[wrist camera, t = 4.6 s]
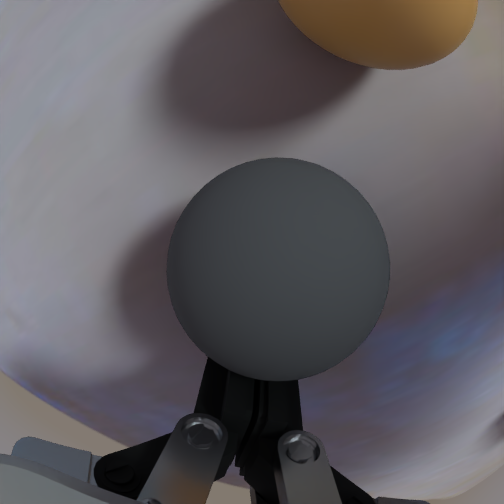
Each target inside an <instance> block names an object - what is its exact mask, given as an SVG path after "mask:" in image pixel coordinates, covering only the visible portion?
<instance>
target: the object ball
mask: <svg viewBox="0 0 504 504" xmlns="http://www.w3.org/2000/svg"><path fill="white" fill-rule="evenodd" d="M278 1H279V3H280V5H281V7H282V9H283V10H284V12H285V13H286V15H287V16H288V17H289V19H290V20H291V21H292V22H293V24H294V25H295V26H296V27H297V28H298V29H299V30H300V31H301V32H302V33H303V34H304V35H305V36H307V37H308V38H309V39H310V40H312V41H313V42H314V43H315V44H317V45H318V46H320V47H321V48H323V49H324V50H326V51H328V52H330V53H332V54H334V55H335V56H338V57H340V58H342V59H345V60H347V61H350V62H353V63H356V64H359V65H362V66H367V67H371V68H377V69H385V70H405V69H413V68H418V67H421V66H425V65H429V64H432V63H434V62H436V61H439V60H441V59H442V58H444V57H446V56H447V55H449V54H450V53H452V52H453V51H454V50H455V49H456V48H457V47H459V45H460V44H461V43H462V42H463V41H464V40H465V38H466V37H467V35H468V34H469V32H470V30H471V28H472V26H473V23H474V20H475V17H476V14H477V7H478V0H278Z"/></svg>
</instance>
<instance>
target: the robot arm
mask: <svg viewBox="0 0 504 504" xmlns="http://www.w3.org/2000/svg"><path fill="white" fill-rule="evenodd" d="M235 455H236V457H235ZM234 457H235V467H240V474H239V475H241V476H244V480H245V481H246V482H247V483H248V484H249V485H250V496H251V504H430V503H428V502H426V501H422V500H408V499H396V498H386V497H377V498H376V499H374V498H372V497H371V496H370V495H369V494H368V493H366V492H365V491H363V490H362V489H361V488H359V487H358V486H356V485H355V484H354V483H352V482H351V481H350V480H348V479H347V478H346V477H344V476H343V475H342V474H340V473H339V472H338V471H337V470H335V469H334V468H333V467H331V466H330V464H329V461H328V458H327V454H326V451H325V448H324V446H323V444H322V442H321V441H320V440H319V439H318V438H317V437H316V436H314V435H313V434H311V433H308V432H306V431H303V427H302V416H301V406H300V396H299V386H298V380H290V381H265V380H259V379H253V378H250V377H246V376H243V375H240V374H237V373H235V372H233V371H230V370H228V369H226V368H225V367H223V366H221V365H220V364H218V363H217V362H215V361H214V360H212V359H211V358H209V357H208V359H207V363H206V366H205V370H204V374H203V378H202V382H201V386H200V390H199V394H198V398H197V402H196V406H195V410H194V413H193V414H189V415H186V416H184V417H183V418H181V419H180V420H179V422H178V423H177V425H176V427H175V428H174V430H173V432H171V433H169V434H166V435H164V436H161V437H158V438H156V439H153V440H150V441H147V442H144V443H142V444H139V445H136V446H133V447H130V448H127V449H124V450H121V451H117V452H114V453H111V454H108V455H106V456H104V457H101V456H96V455H92V454H91V452H89V451H84V450H79V449H75V448H71V447H67V446H63V445H59V444H56V443H52V442H48V441H45V440H42V439H38V438H35V437H25V438H21V439H20V440H18V441H17V442H16V444H15V445H14V447H13V450H12V454H11V455H6V454H0V504H205V503H206V500H207V498H208V495H209V492H210V489H211V486H212V484H213V482H214V481H216V480H218V479H220V478H222V477H224V476H225V474H226V471H227V469H228V467H229V465H231V463H232V461H233V459H234Z"/></svg>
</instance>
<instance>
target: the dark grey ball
mask: <svg viewBox="0 0 504 504" xmlns="http://www.w3.org/2000/svg"><path fill="white" fill-rule="evenodd" d="M389 280H390V260H389V253H388V246H387V242H386V239H385V235H384V232H383V229H382V227H381V225H380V222H379V220H378V218H377V216H376V214H375V213H374V211H373V209H372V208H371V206H370V205H369V203H368V202H367V201H366V200H365V198H364V197H363V196H362V195H361V194H360V193H359V191H358V190H357V189H355V188H354V187H353V186H352V185H351V184H350V183H349V182H347V181H346V180H345V179H343V178H342V177H340V176H339V175H337V174H336V173H334V172H332V171H330V170H328V169H326V168H324V167H322V166H320V165H317V164H314V163H311V162H307V161H303V160H298V159H293V158H266V159H259V160H254V161H250V162H246V163H243V164H241V165H238V166H235V167H233V168H230V169H229V170H227V171H225V172H223V173H222V174H220V175H218V176H216V177H215V178H214V179H213V180H211V181H210V182H209V183H207V184H206V185H205V186H204V187H203V188H202V189H201V190H200V191H199V192H198V193H197V194H196V195H195V196H194V197H193V198H192V200H191V201H190V202H189V204H188V205H187V206H186V208H185V209H184V211H183V213H182V215H181V216H180V218H179V220H178V222H177V224H176V226H175V229H174V232H173V234H172V237H171V241H170V246H169V250H168V260H167V282H168V289H169V293H170V298H171V302H172V305H173V308H174V310H175V313H176V315H177V318H178V320H179V321H180V323H181V325H182V327H183V328H184V330H185V332H186V333H187V335H188V336H189V337H190V339H191V340H192V341H193V342H194V343H195V344H196V345H197V347H198V348H199V349H200V350H201V351H202V352H204V353H205V354H206V355H207V356H208V357H209V358H211V359H212V360H214V361H215V362H217V363H218V364H220V365H221V366H223V367H225V368H226V369H228V370H230V371H233V372H235V373H237V374H240V375H243V376H246V377H250V378H253V379H259V380H265V381H290V380H298V379H302V378H306V377H310V376H313V375H316V374H319V373H321V372H324V371H326V370H328V369H329V368H331V367H333V366H335V365H337V364H338V363H340V362H341V361H343V360H344V359H345V358H347V357H348V356H349V355H350V354H352V353H353V352H354V351H355V350H356V349H357V348H358V347H359V345H360V344H361V343H362V342H363V341H364V340H365V339H366V338H367V336H368V335H369V334H370V332H371V331H372V329H373V328H374V326H375V324H376V322H377V320H378V318H379V316H380V314H381V311H382V309H383V306H384V303H385V300H386V296H387V293H388V286H389Z"/></svg>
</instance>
